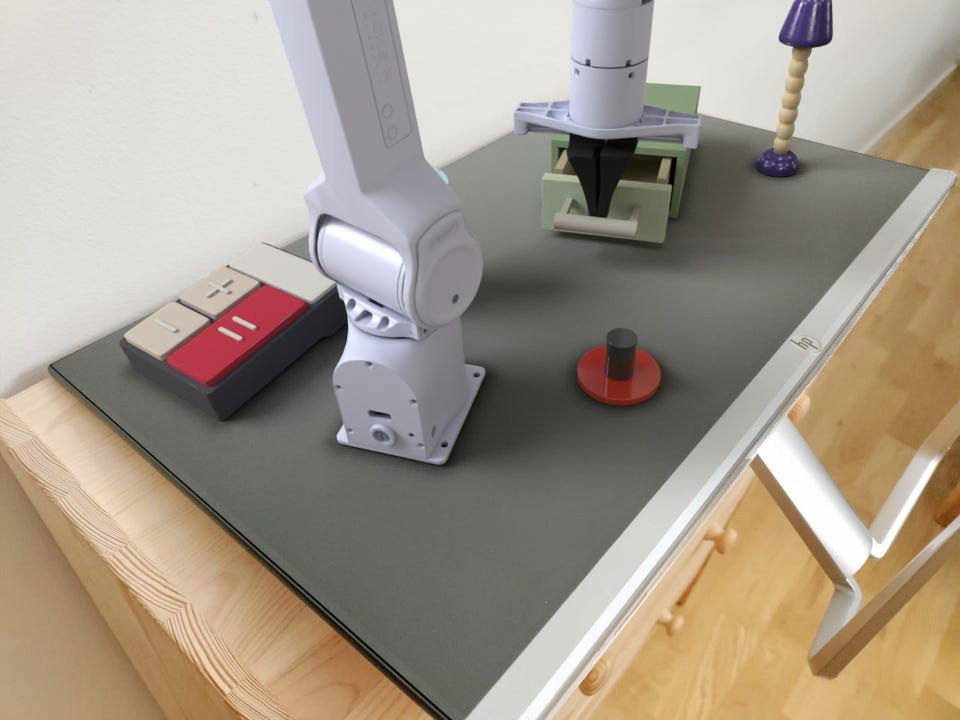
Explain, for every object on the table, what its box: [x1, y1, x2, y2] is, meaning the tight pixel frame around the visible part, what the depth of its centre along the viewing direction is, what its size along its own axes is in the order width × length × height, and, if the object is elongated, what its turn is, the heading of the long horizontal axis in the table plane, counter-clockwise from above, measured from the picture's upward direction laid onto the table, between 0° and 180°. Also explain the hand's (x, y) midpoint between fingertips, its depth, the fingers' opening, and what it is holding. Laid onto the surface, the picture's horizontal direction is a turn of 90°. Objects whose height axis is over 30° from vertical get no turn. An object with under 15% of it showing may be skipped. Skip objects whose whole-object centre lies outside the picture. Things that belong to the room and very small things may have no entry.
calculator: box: [118, 241, 348, 421], centre depth 56 cm, size 11×4×15 cm
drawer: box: [541, 148, 676, 244], centre depth 67 cm, size 19×11×5 cm, turn 162°
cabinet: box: [550, 82, 702, 219], centre depth 73 cm, size 15×12×7 cm
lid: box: [576, 327, 662, 407], centre depth 51 cm, size 6×6×4 cm
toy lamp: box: [755, 0, 834, 177], centre depth 69 cm, size 5×5×17 cm
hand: (599, 216), depth 61 cm, fingers closed, pressing on drawer
